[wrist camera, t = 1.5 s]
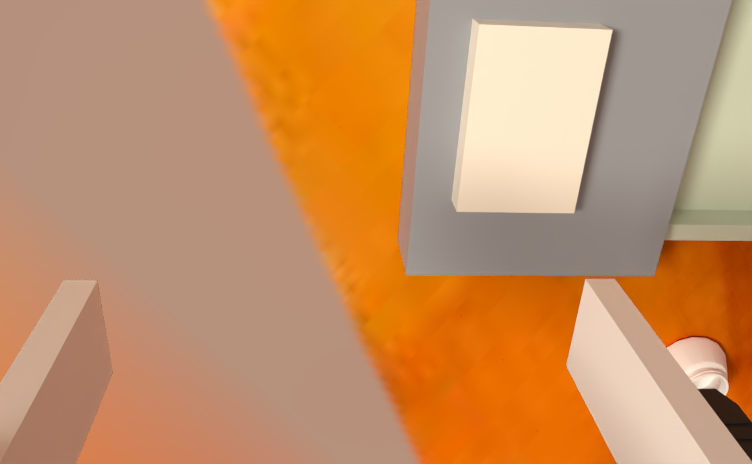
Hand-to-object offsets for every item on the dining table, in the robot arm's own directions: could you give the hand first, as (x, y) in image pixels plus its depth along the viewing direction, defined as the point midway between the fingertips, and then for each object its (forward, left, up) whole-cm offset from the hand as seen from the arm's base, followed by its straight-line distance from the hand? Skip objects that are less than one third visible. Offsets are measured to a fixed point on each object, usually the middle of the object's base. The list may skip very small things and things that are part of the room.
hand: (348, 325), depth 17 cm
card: (0, +9, -17) cm, 20 cm away
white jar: (+18, +25, -22) cm, 38 cm away
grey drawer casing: (0, +11, -21) cm, 24 cm away
